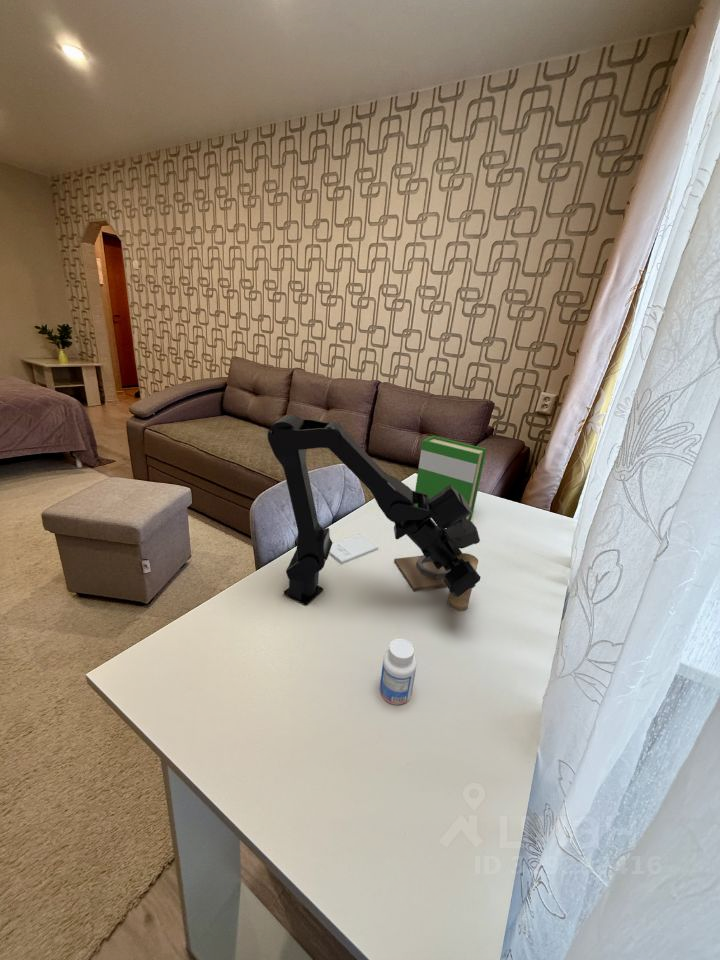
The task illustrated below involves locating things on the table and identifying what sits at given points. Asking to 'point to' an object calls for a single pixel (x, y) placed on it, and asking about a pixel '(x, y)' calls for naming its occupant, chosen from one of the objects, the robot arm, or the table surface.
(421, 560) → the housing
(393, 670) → the pill bottle
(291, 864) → the table surface
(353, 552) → the external hard drive
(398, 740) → the table surface
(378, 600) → the table surface
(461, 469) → the hardback book
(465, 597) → the light brown tall cylinder
